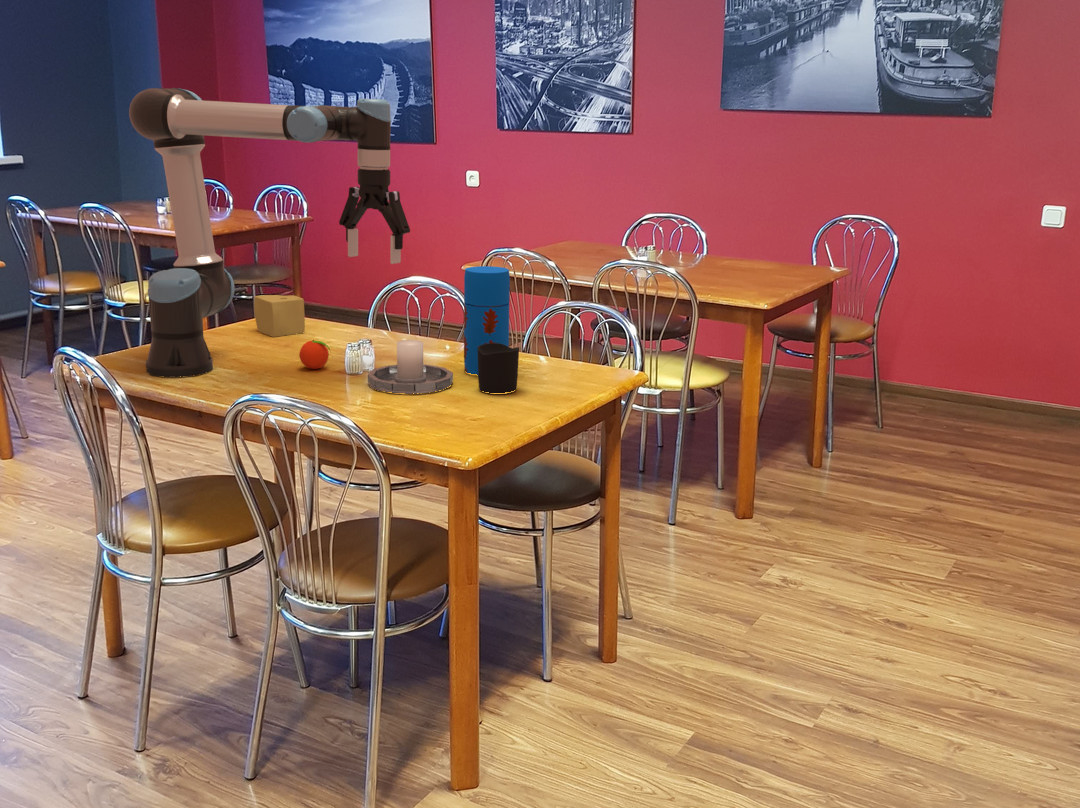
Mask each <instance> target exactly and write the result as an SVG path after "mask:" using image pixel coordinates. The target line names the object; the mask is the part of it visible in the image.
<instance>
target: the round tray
mask: <svg viewBox="0 0 1080 808" xmlns="http://www.w3.org/2000/svg"><path fill="white" fill-rule="evenodd" d="M423 373H424V374H425V375H426V382H422V383H396V382H395V374H397V364H392V365H391V364H390V365H389V364H388V365H385V366H381V367H376V368H373V369H371V371H370V372H369V373H368V374H367V382H368V385H369V387H370V386H371V387H372V388H374V389H376V390H375V391H377V390H379V391H378V392H380V391H385V392H392V393H405V394H413V393H414V394H417V393H419V394H418V395H421V394H420V393H429V392H435V391H439V390H443V389H445V388H447V387H449V386H450V385H451V384H452V385H453V380H454V372H453V371H451V370H449V369H447V368H446V367H444V366H437V365H433V364H426V363H425V364H424V363H423ZM371 387H370V388H371ZM372 388H371V389H372ZM374 389H373V390H374ZM443 391H444V390H443ZM435 393H436V392H435ZM429 394H430V393H429Z"/></svg>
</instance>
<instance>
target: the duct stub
mask: <svg viewBox="0 0 1080 808" xmlns="http://www.w3.org/2000/svg"><path fill="white" fill-rule="evenodd" d="M423 364H424V341H423V340H418V339H402V340H398V341H396V365H397V374H395V382H396V383H422V382H426V375H425V374H424V373H423Z"/></svg>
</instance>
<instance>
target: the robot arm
mask: <svg viewBox="0 0 1080 808" xmlns="http://www.w3.org/2000/svg"><path fill="white" fill-rule="evenodd" d="M356 103H357V104H356V106H337V105H326V104H319V105H318V104H317V105H290V104H289V105H288V104H272V103H270V104H269V103H255V102H254V103H253V102H252V103H251V102H234V101H219V100H202V98H201V97H200V96H198V95H197V94H196V93H194V92H193V91H192V90H191V91H190V90H188V89H182V88H180V87H178V88H175V87H172V88H154V87H153V88H146V89H145V90H141V91H140V92H138V93H137V94H136V95H135V96H134V97H133V98H132V100H131V102H130V105H129V109H128V110H129V111H128V115H129V120H130V123H131V125H132V128H134V129H135V131H136V132H137V134H139V135H140V136H142V137H143V138H145V139H148V140H151V141H153V147H154V150H155V151H156V152H157V153H158V154H160V155H161V157H162V161H163V162H162V163H163V168H164V173H165V179H166V185H167V186H166V187H167V191H168V197H169V203H170V208H171V209H170V211H171V217H172V222H173V229H174V235H175V241H176V246H177V254H178V257H177V259H176V260H175V261H174V263H173V268H169V269H167V270H166V269H163V270H159V271H157V272H154V273H153V274H152V275H150V277H149V278H148V283H147V284H148V286H147V297H148V308H149V319H150V330H151V331H150V333H151V343H150V346H149V350H148V354H147V359H146V362H145V367H146V368H145V369H146V373H147V374H149V375H151V376H153V375H154V376H153V377H159V376H164V377H163V378H184V377H183V376H188V377H194V376H193V375H195V376H199V374H200V375H204V374H207V373H209V371H210V372H211V371H213V369H214V363H213V362H214V361H213V357H212V356H211V352H210V350H209V347H208V345H207V342H206V340H205V337H204V322H203V319H204V318H207V317H209V316H214V315H217V314H219V313H221V311H223V310H224V309H226V308H227V307H229V305H230V304H231V303H232V300H233V298H234V295H235V282H234V279H233V276H232V274H231V273H230V272H229V271H227V269H226V268H225V266H224V260H223V258H222V257H221V256H220V255H219V254H217V253H216V250H215V244H214V243H215V242H214V236H213V231H212V229H213V228H212V225H211V224H212V223H211V218H210V210H209V205H208V198H207V190H206V186H205V177H204V172H203V171H204V170H203V166H202V159H201V152H202V150H204V148H205V146H206V142H205V136H209V137H211V136H212V137H229V138H245V139H246V138H247V139H248V138H249V139H262V140H265V139H266V140H280V141H281V140H282V141H294V142H296V141H297V142H301V143H305V144H306V143H307V144H308V143H315V142H322V141H324V142H325V141H334V140H335V141H352V142H353V141H354V142H355V141H357V143H356V144H357V166H358V167H359V168H358V170H357V184H358V185H359V186H351V187H350V186H349V188H348V196H347V200H346V202H345V205H344V207H343V210H342V213H341V216H340V219H339V221H338V225H340V226H343V227H344V228H345V240H346V241H345V242H347V257H349V258H352V257H358V256H359V229H358V226H357V225H358V224H359V222H360V221H361V220H362V218H363V216H364V215H365V213H366V211H367V210H369V209H373V210H378V212H379V213H381V215H382V216H383V219H384V220H385V222H386V223H387V226H388V227H389V229H390V230H391V232H392V234H391V235H390V248H389V249H390V254H389V256H390V261H389V262H390V264H391V265H394V264H400V263H401V262H402V259H401V258H402V257H401V253H402V250H403V245H404V241H403V240H404V238H403V237H404V235H405V234H409V233H410V232H411V228H410V225H409V222H408V220H407V217H406V214H405V211H404V208H403V205H402V202H401V195H400V191H397V190H396V191H390V190H389V186H390V185H391V170H390V169H388V168H390V167H391V130H392V129H391V127H392V125H391V122H392V118H391V105H390V102H389V100H387V99H381V98H380V99H378V98H358V100H357V102H356ZM206 372H207V373H206ZM180 376H181V377H180Z"/></svg>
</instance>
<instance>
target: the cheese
mask: <svg viewBox="0 0 1080 808" xmlns="http://www.w3.org/2000/svg"><path fill="white" fill-rule="evenodd" d="M253 313H254V319H255V324H256V328H257V329H256V330H257V332H258V331H259V333H262V334H265V335H267V336H271V337H273V338H275V337H276V338H277V337H285V335H286V336H290V335H291V334H293V335H297V334H296V333H301V334H304V333H305V332H306V331H305V329H306V328H305V327H306V326H305V325H306V324H305V323H306V321H305V301H304V298H302V297H300V296H297V295H293V294H292V295H281V294H274V295H273V294H263V295H255V296H254V299H253ZM303 332H304V333H303Z"/></svg>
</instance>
